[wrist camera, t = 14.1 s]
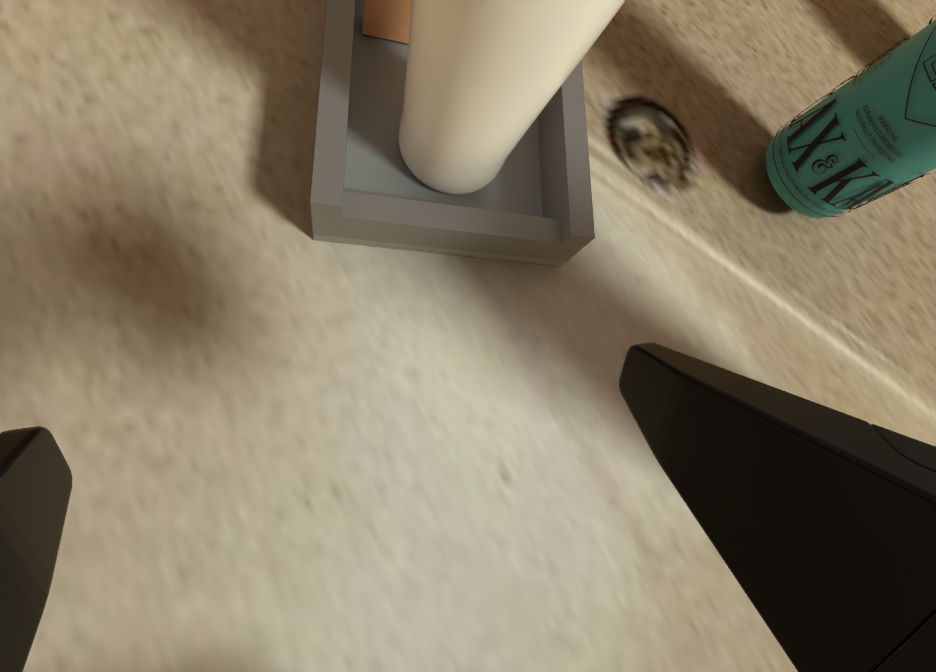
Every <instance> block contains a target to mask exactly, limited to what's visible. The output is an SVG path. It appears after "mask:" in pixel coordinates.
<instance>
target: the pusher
mask: <svg viewBox="0 0 936 672" xmlns="http://www.w3.org/2000/svg"><path fill="white" fill-rule="evenodd" d="M410 13H411V0H364V11H363V27H362V34H365V35H370V36H375V37H379V38H384V39H388V40H393V41H398V42H402V43H407V44H408V40H409V27H410Z"/></svg>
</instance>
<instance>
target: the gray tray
mask: <svg viewBox="0 0 936 672" xmlns="http://www.w3.org/2000/svg"><path fill="white" fill-rule="evenodd" d="M363 11H364V0H327V6H326V18H325V30H324V42H323V54H322V66H321V79H320V91H319V103H318V115H317V127H316V139H315V151H314V163H313V175H312V187H311V199H310V205H311V217H312V228H313V240H319V241H328V242H337V243H347V244H356V245H366V246H375V247H385V248H394V249H403V250H413V251H422V252H432V253H441V254H450V255H460V256H469V257H479V258H488V259H497V260H507V261H516V262H526V263H535V264H544V265H554V266H562V265H563V264H564V263H565V262H566V261H568V260H569V259H570V258H571V257H572V256H574V255H575V254H576V253H577V252H578V251H580V250H581V249H582V248H583V247H584V246H586V245H587V244H588V243H589V242H590V241H592V240H593V239H594V238H595V234H594V220H593V207H592V193H591V180H590V167H589V153H588V140H587V126H586V113H585V100H584V86H583V73H582V60H581V61H580V62H579V63H578V65H577V66H576V67H575V69H574V70H573V71H572V72H571V74H570V75H569V76H568V78H567V79H566V80H565V82H564V83H563V84H562V85H561V87H560V88H559V89H558V91H557V92H556V93H555V95H554V96H553V97H552V99H551V100H550V101H549V102H548V104H547V105H546V106H545V108H544V109H543V110H542V112H541V113H540V114H539V116H538V117H537V118H536V120H535V121H534V122H533V124H532V125H531V126H530V128H529V129H528V130H527V131H526V133H525V134H524V135H523V137H522V138H521V139H520V141H519V142H518V144H517V145H516V146H515V148H514V149H513V150H512V152H511V153H510V154H509V156H508V157H507V159H506V161H505V162H504V164H503V166H502V168H501V169H500V171H499V173H498V174H497V175H496V177H495V178H494V179H493V180H492V181H491V182H490V183H489V184H488V185H487V186H485V187H483V188H482V189H480V190H478V191H475V192H472V193H468V194H448V193H443V192H440V191H437V190H435V189H432V188H431V187H429V186H427V185H425V184H424V183H423V182H421V181H420V180H419V179H418V178H417V177H415V175H414V174H413V173H412V172H411V171H410V170H409V168H408V167H407V165H406V164H405V162H404V160H403V157H402V155H401V152H400V148H399V142H398V131H399V124H400V119H401V114H402V109H403V100H404V89H405V77H406V65H407V52H408V44H407V43H402V42H398V41H393V40H388V39H384V38H379V37H375V36H370V35H365V34H362V27H363Z"/></svg>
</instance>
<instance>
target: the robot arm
mask: <svg viewBox="0 0 936 672" xmlns="http://www.w3.org/2000/svg"><path fill="white" fill-rule="evenodd" d="M619 389H620V392H621V394H622V396H623V398H624V400H625V402H626V404H627V406H628V407H629V409H630V411H631V413H632V415H633V417H634V419H635V420H636V422H637V424H638V426H639V428H640V430H641V432H642V434H643V435H644V437H645V439H646V441H647V443H648V445H649V447H650V449H651V450H652V452H653V454H654V456H655V457H656V459H657V461H658V462H659V464H660V466H661V467H662V469H663V470H664V472H665V473H666V475H667V476H668V478H669V479H670V481H671V482H672V484H673V485H674V487H675V488H676V490H677V491H678V493H679V494H680V496H681V497H682V499H683V500H684V502H685V503H686V505H687V506H688V508H689V509H690V511H691V512H692V514H693V515H694V517H695V518H696V520H697V521H698V523H699V524H700V526H701V527H702V529H703V530H704V532H705V533H706V535H707V536H708V538H709V539H710V541H711V542H712V544H713V545H714V547H715V548H716V550H717V551H718V553H719V554H720V556H721V557H722V559H723V560H724V562H725V563H726V565H727V566H728V568H729V569H730V571H731V572H732V574H733V575H734V577H735V578H736V580H737V581H738V583H739V584H740V586H741V587H742V589H743V590H744V592H745V593H746V595H747V596H748V598H749V599H750V601H751V602H752V604H753V605H754V607H755V608H756V610H757V611H758V613H759V614H760V616H761V617H762V619H763V620H764V622H765V623H766V625H767V626H768V628H769V629H770V631H771V632H772V634H773V635H774V636H775V638H776V639H777V641H778V642H779V644H780V645H781V647H782V648H783V650H784V651H785V653H786V654H787V656H788V657H789V659H790V660H791V662H792V663H793V665H794V666H795V668H796V669H797V671H798V672H936V447H935V446H932V445H929V444H927V443H924V442H921V441H918V440H916V439H913V438H910V437H907V436H904V435H902V434H899V433H896V432H893V431H891V430H888V429H885V428H883V427H880V426H877V425H874V424H871V425H870V424H869V423H868V422H866V421H863V420H861V419H858V418H855V417H853V416H850V415H847V414H845V413H842V412H839V411H836V410H834V409H831V408H828V407H826V406H823V405H820V404H817V403H815V402H812V401H809V400H807V399H804V398H801V397H799V396H796V395H793V394H790V393H788V392H785V391H782V390H780V389H777V388H774V387H772V386H769V385H766V384H763V383H761V382H758V381H755V380H753V379H750V378H747V377H745V376H742V375H739V374H736V373H734V372H731V371H728V370H726V369H723V368H720V367H718V366H715V365H712V364H709V363H707V362H704V361H701V360H699V359H696V358H693V357H690V356H688V355H685V354H682V353H680V352H677V351H674V350H672V349H669V348H666V347H663V346H661V345H658V344H655V343H642V344H635V345H633V346H631V347H630V348H629V349H628V351H627V354H626V358H625V361H624V364H623V368H622V371H621V375H620V378H619ZM71 489H72V474H71V470H70V468H69V466H68V464H67V462H66V460H65V458H64V456H63V454H62V452H61V451H60V449H59V447H58V445H57V443H56V441H55V439H54V437H53V435H52V434H51V433H50V431H49V430H48V429H46V428H44V427H40V426H37V427H29V428H22V429H15V430H8V431H5V432H2V433H0V672H23V669H24V666H25V663H26V660H27V657H28V655H29V652H30V649H31V646H32V643H33V640H34V637H35V634H36V631H37V628H38V626H39V623H40V620H41V617H42V614H43V611H44V607H45V604H46V601H47V598H48V594H49V590H50V586H51V582H52V578H53V573H54V569H55V564H56V559H57V555H58V550H59V545H60V541H61V536H62V531H63V526H64V522H65V517H66V512H67V508H68V503H69V498H70V494H71Z"/></svg>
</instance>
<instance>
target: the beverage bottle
mask: <svg viewBox="0 0 936 672" xmlns="http://www.w3.org/2000/svg"><path fill="white" fill-rule="evenodd" d="M934 17H935V16H934ZM932 19H933V18H932ZM932 19H931V20H930V22H929V25H928V26H926V27H925V28H923V29H922V30H921V31H919V32H918V33H916V34H915V35H914V36H912V37H911V38H909V39H908V40H907V39H906V40H907V41H905V42H904V43H901V45H900V46H898V47H897V48H895V49H894V50H893V49H890V50H891V52H890V53H888V54H885V53H887V52H888V51H889V50H887V51H886V52H885V53H884V54H883V55H882V54H881V55H880V56H884V57H883V58H881V57H880V56H879V57H877V58H880V59H878V60H879V61H878V60H876V61H877V62H875V63H874V64H873V63H872V62H873V61H875V59H874V60H873V61H872V62H871V64H872V66H871V64H870V67H869V68H867V69H866V70H864V69H865V68H862V69H863V70H864V71H862V73H860V74H859V75H858V74H857V75H858V76H857V75H856V76H854V75H855V74H856V73H857V72H856V73H855V74H854V75H853V77H855V78H853V77H851V78H853V79H852V80H851V81H849V82H848V83H846V84H845V85H844V86H842V87H841V88H839V89H838V90H837V91H835V90H836V89H835V88H834V89H835V90H834V89H833V90H834V91H835V92H834V93H833V92H831V91H830V92H831V93H830V94H828V93H827V94H828V95H830V96H828V95H827V94H826V95H827V96H828V97H827V96H826V97H827V98H825V97H824V96H823V97H824V98H825V99H824V100H823V101H821V102H820V103H818V104H817V105H816V106H814V107H813V108H811V109H810V110H808V111H807V112H806V113H804V114H803V115H799V114H798V115H799V116H800V117H799V118H797V119H795V118H796V117H794V119H795V120H794V119H793V120H792V122H791V121H790V122H791V123H790V124H789V125H788V126H786V125H787V123H786V124H784V125H785V126H786V127H785V126H784V127H783V128H782V130H781V131H780V132H779V133H778V132H777V133H778V134H776V136H775V137H774V138H773V139H772V141H771V142H770V144H769V146H768V148H767V152H766V168H767V173H768V176H769V179H770V181H771V183H772V185H773V187H774V189H775V190H776V192H777V193H778V195H779V196H780V197H781V199H782V200H783V201H784V202H785V203H786V204H787V205H788V206H790V207H791V208H792V209H794V210H795V211H797V212H798V213H800V214H802V215H805V216H808V217H811V218H825V217H837V216H834V215H837V214H840V213H841V214H843V212H844V211H846V210H848V209H852V208H853V207H854V206H857V205H859V204H860V205H859V206H857V207H856V208H859V207H860V206H862V205H865V204H867V203H869V202H871V201H873V200H876V199H878V198H880V197H882V196H884V195H886V194H889V193H891V192H893V191H895V190H897V189H899V188H902V187H904V186H906V185H908V184H910V183H908V182H911V181H913V180H915V179H917V178H919V177H923V176H924V174H925V173H927V172H930V171H932V170H934V169H936V20H935V21H933V22H932V23H931V21H932ZM912 34H913V33H912ZM908 36H910V35H908ZM903 40H905V39H903ZM901 41H902V40H901ZM901 41H899V42H901ZM899 44H900V43H899ZM899 44H898V45H899ZM895 45H896V44H895ZM895 45H894V46H895ZM894 46H893V47H891V48H894ZM892 50H893V51H892ZM885 55H886V56H885ZM868 65H869V64H868ZM868 65H867V66H868ZM862 69H861V70H862ZM859 72H860V71H859ZM859 72H858V73H859ZM851 78H849V79H851ZM849 79H848V80H849ZM845 82H846V80H845ZM841 84H843V83H841ZM841 84H840V85H841ZM838 86H839V85H838ZM838 86H837V87H838ZM820 99H821V98H820ZM820 99H819V100H820ZM821 100H822V99H821ZM816 102H817V101H816ZM816 102H815V103H816ZM813 104H814V103H813ZM813 104H812V105H813ZM809 107H810V106H809ZM809 107H808V108H809ZM805 110H806V109H805ZM802 112H803V111H802ZM802 112H801V113H802ZM798 115H797V117H798ZM779 130H780V129H779ZM779 130H778V131H779ZM928 174H929V173H928ZM912 183H913V182H912ZM904 184H905V185H904ZM902 185H903V186H902ZM900 186H901V187H900ZM898 187H899V188H898ZM895 188H897V189H895ZM893 189H895V190H893ZM891 190H893V191H891ZM889 191H890V192H889ZM887 192H888V193H887ZM885 193H886V194H885ZM883 194H884V195H883ZM880 195H882V196H880ZM878 196H880V197H878ZM876 197H877V198H876ZM874 198H875V199H874ZM872 199H873V200H872ZM867 200H868V201H869V202H868V201H867ZM870 200H871V201H870ZM865 201H867V203H865V204H862V203H863V202H865ZM861 204H862V205H861ZM856 208H853V209H856ZM848 212H850V211H848ZM844 213H845V214H846V213H847V212H844ZM843 215H844V214H843ZM840 216H841V215H840Z"/></svg>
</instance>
